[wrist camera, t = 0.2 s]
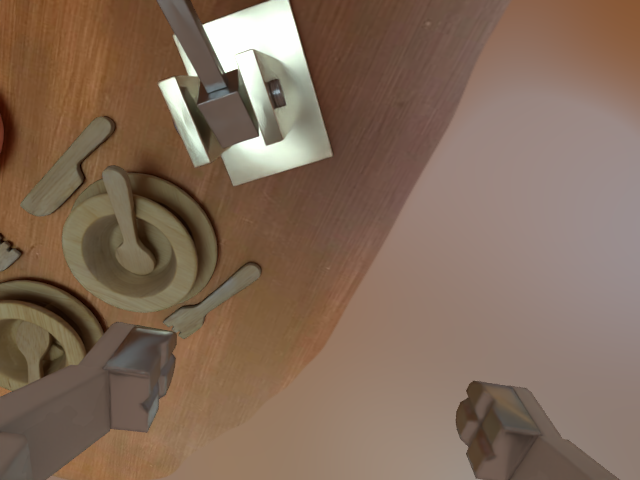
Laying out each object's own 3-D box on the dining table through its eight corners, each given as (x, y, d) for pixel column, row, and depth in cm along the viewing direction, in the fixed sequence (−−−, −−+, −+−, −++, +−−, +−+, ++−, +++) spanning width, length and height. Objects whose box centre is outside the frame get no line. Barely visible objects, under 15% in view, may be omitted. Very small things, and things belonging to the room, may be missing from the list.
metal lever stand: (176, 36, 28) (76, 7, 17) (288, -4, 27) (265, -66, 16) (236, 183, 33) (190, 242, 21) (333, 153, 32) (341, 198, 20)
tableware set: (107, 108, 30) (60, 115, 25) (271, 270, 36) (262, 304, 31) (-73, 306, 38) (-138, 344, 33) (88, 412, 44) (55, 460, 39)
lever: (29, -149, 13) (1, -141, 11) (159, -207, 12) (148, -207, 11) (201, 131, 22) (198, 156, 21) (280, 105, 22) (283, 129, 20)
